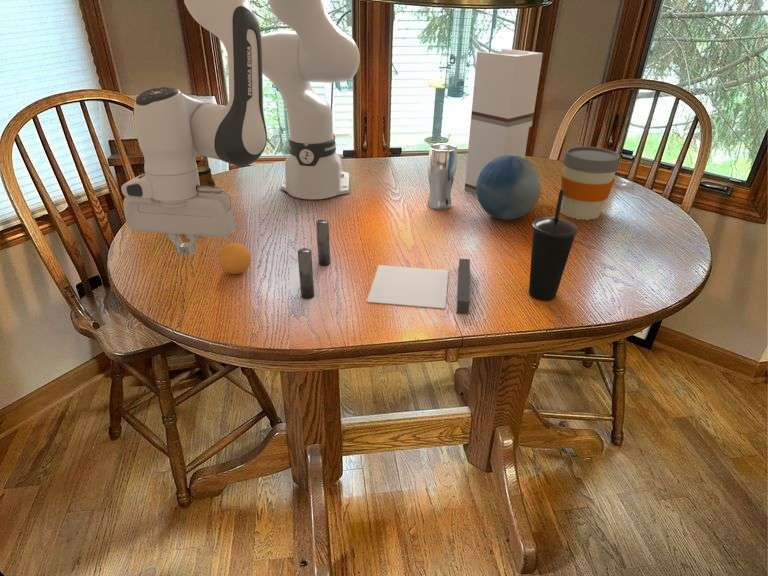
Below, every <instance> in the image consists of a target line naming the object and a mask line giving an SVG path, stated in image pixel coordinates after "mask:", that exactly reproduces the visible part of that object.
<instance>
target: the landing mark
mask: <svg viewBox="0 0 768 576" xmlns="http://www.w3.org/2000/svg"><path fill="white" fill-rule="evenodd" d="M376 268H377V269H376V271H375V272H376V273H375V275H374V278H373V281H372V284H371V288H370V291H369V293H368V296H367V299H366V303H371V304H384V305H395V306H405V307H406V306H409V307H416V308H417V307H418V308H419V307H420V308H430V309H431V308H432V309H443V310H446V305H447V293H448V291H447V290H448V278H449V270H448V269H445V270H444V269H433V268H432V269H431V268H421V267H420V268H419V267H411V266H410V267H409V266H407V267H406V266H395V265H385V264H384V265H383V264H382V265H381V264H378V266H377V267H376Z"/></svg>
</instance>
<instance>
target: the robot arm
mask: <svg viewBox="0 0 768 576" xmlns="http://www.w3.org/2000/svg"><path fill="white" fill-rule="evenodd" d="M183 2H184V5H185V7H186V9H187V11H188V13H189V14H190V15H191V16H192V18H193V19H194V21H196V22H197V23H198V24H199V25H200V26H201V27H203V28H204V29H205V30H207V31H208V32H209V33H211V34H213V35H214V36H215V37H216V38H217V39H219V40H220V42H221V43H222V44H223V46H224V48H225V51H226V55H227V66H228V68H227V70H228V71H227V72H228V102H227V104H226V105H221V104H216V103H214V102H213V103H212V102H205V101H203V100H198V99H195V98H192V97H191V96H188V95H186V94H184V93H182V92H181V90H179V89H178V88H176V87H172V86H159V87H153V88H150V89H146V90H145V91H142V92H141V93H140V94H138V95H137V96H136V98H135V99H134V105H133V118H134V125H135V126H134V127H135V133H136V137H137V141H138V146H139V149H140V151H141V152H142V155H143V158H144V160H143V161H144V164H143V165H144V166H143V170H144V173H143V174H139V175H138V176H136V177H133V178H132V179H130V180H128V181H126V182H125V183H124V184H122V185H121V189H120V191H121V192H122V195H123V196H124V199H123V202H122V204H123V205H122V206H123V212H124V218H125V222H126V224H127V226H128V228H130V230H131V231H134V232H148V233H162V234H167V236H168V238H169V240H170V241H171V242H172V244H173V245H174V246H175V247H176V250H177V251H176V252H177V254H179V255H193V256H194V254H195V253H197V248H196V243H197V241H198V239H199V236H201V237H202V236H204V237H215V238H228V237H229V236H230V235H232V233H233V232H234V231H235V230H236V228H237V225H236V219H235V214H234V211H233V208H232V207H233V206H232V203H233V202H232V196H231V195H230V193H229V192H228V191H227V190H225V189H223V188H222V187H220V186H215V187H209V186H200V181H199V175H198V169H197V166H198V165H197V162H196V159H197V157H201V156H202V157H206V158H210V159H214V160H219V161H222V162H225V163H227V164H230V165H234V166H237V167H239V168H240V167H241V168H244V167H247V166H249V165H251V164H253V163H255V162H256V161H257V160H258V159H259V158H260V156H262V154H263V153H264V151H265V149H266V147H267V146H266V145H267V142H268V133H267V127H266V120H265V113H264V96H263V95H264V94H263V75H264V76H265V77H266V78H267V79H268V80H269V81H270V82H271V83H272V84H273V85H274V87H275V88H276V89H277V91H278V93H279V94H280V95H281V98H282V100H283V102H284V105H285V108H286V115H287V121H288V129H289V138H288V145H287V146H288V152H289V155H288V156H287V157H286V159H284V168H285V169H284V172H285V173H284V176H285V182H284V183H282V184H281V185H280V190H282V191H284V192H287V194H288V195H290V196H292V197H294V198H296V199H302V200H323V199H328V198H333V197H336V196H340V195H347V194H349V193H350V173H349V172H347V171H343V170H342V158H341V157H340V155H339V154H338V153H337V147H336V146H337V143H336V134H335V133H334V128H333V127H334V126H333V125H334V124H333V123H334V121H333V110H332V107H331V106H330V104H329V102H328V101H327V100H325V99H324V97H323V98H322V97H321V96H319V95H318V94H317V93H316V92H315V91H314V89H313V88H312V86H311V82H312V83H328V84H333V83H340V82H341V83H342V82H346V81H351V80H352V79H353V78H354V76H355V75H356V74H357V72H358V70H359V67H360V63H361V55H360V50H359V48H358V44H357V42H355V40H354V38H352V37H351V36H349V35H348V34H347V33H345V32H344V31H343V30H342V29H341V28H340V27H339V26H338V25H337V24H336V23H335V22H334V21H333V19H332V17H331V16H330V15H329V14H328V13H329V12H327V10H326V8H325V6H324V4H323V0H268V3H269V7H270V10H271V12H272V13H273V15H274V17H276V18H277V20H278V21H280V22H281V23H283V24H285V26H286V25H287V26H288V27H289V28H290V29H292V30H276V31H272V32H267V33H264V34H261V27H260V23H259V20H258V18H257V16H256V15H255V14H254V13H253V12H252V6H251V0H183ZM180 235H186V239H187V240H189V242H184V241H183V239H182V238H181V236H180Z"/></svg>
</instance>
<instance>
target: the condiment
mask: <svg viewBox="0 0 768 576" xmlns="http://www.w3.org/2000/svg"><path fill="white" fill-rule="evenodd" d="M197 169H198V175H199V181H200V186H209V187H216V182H215V179H214V178H213V174H212V169H211V167H209V166H204V165H197Z"/></svg>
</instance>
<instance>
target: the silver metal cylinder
mask: <svg viewBox="0 0 768 576" xmlns="http://www.w3.org/2000/svg"><path fill="white" fill-rule="evenodd" d="M457 152H458V147H457V146H456V145H454V144H451V143H435V144H433V143H432V144H431V145H429V151H428V159H427V174H428V182H429V196H428V201H427V207H428V208H429V209H431V210H438V211H445V210H449V209H450V208H451V207H452V195H451V194H452V189H453V185H454V181H455V176H456V171H457V163H458V161H457V160H458V153H457Z"/></svg>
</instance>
